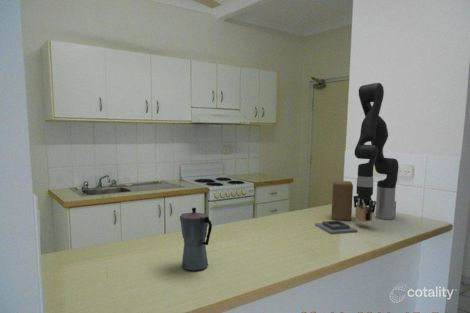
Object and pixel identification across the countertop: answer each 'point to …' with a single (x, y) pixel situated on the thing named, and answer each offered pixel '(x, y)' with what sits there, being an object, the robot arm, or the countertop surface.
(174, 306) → the countertop surface
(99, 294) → the countertop surface
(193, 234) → the moka pot
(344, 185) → the wooden block
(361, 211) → the brick
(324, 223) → the socket board
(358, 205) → the robot arm
